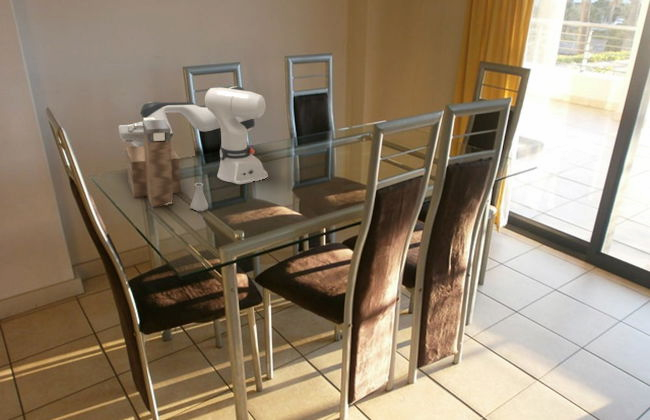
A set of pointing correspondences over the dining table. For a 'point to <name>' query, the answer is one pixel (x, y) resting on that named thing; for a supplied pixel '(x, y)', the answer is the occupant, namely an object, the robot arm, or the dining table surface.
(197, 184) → the flask
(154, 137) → the gauge bar
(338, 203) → the dining table surface
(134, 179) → the walnut holder
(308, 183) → the dining table surface
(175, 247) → the dining table surface
